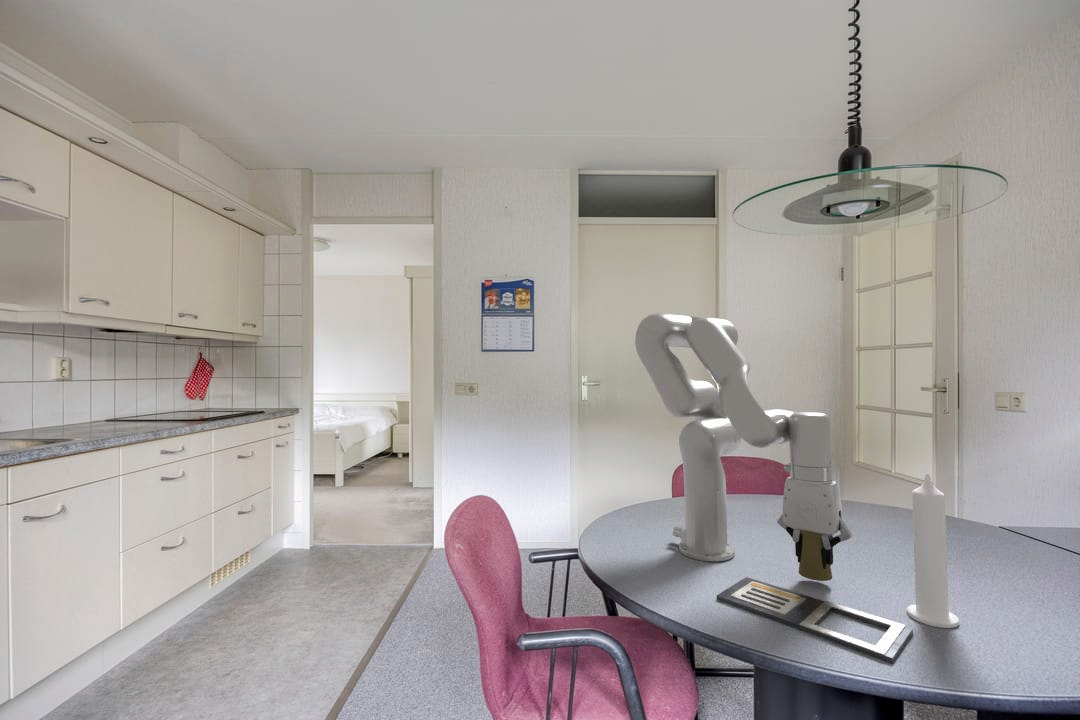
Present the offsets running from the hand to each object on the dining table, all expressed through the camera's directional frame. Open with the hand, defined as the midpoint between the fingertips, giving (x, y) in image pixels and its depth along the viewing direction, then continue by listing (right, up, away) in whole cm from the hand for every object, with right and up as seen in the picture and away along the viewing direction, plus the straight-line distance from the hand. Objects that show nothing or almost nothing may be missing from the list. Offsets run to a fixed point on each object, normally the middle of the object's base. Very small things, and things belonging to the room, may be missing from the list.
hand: (814, 563), depth 100 cm
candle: (+13, -4, -14) cm, 19 cm away
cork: (0, -2, 0) cm, 2 cm away
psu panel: (-8, -4, -13) cm, 16 cm away
